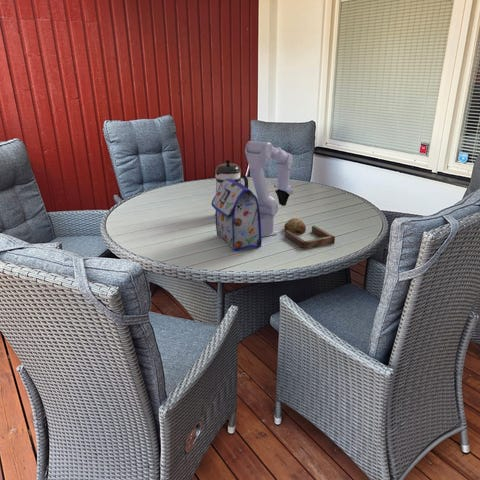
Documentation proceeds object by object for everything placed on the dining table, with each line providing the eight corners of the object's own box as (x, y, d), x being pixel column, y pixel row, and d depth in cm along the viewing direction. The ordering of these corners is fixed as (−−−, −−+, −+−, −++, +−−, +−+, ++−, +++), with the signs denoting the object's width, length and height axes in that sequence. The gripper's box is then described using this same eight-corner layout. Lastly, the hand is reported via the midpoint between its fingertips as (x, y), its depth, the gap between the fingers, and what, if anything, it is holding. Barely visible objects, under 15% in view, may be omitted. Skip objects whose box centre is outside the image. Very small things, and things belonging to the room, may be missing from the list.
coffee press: (242, 222, 200) (241, 162, 189) (211, 220, 203) (209, 161, 192) (248, 211, 216) (248, 156, 204) (219, 209, 219) (218, 155, 207)
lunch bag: (210, 235, 184) (208, 178, 174) (242, 230, 190) (242, 175, 180) (228, 254, 165) (227, 191, 155) (264, 247, 171) (265, 187, 161)
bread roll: (286, 241, 186) (290, 229, 181) (280, 226, 193) (283, 214, 187) (306, 239, 189) (310, 227, 183) (298, 224, 195) (302, 212, 190)
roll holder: (303, 249, 169) (303, 242, 168) (285, 236, 182) (285, 230, 181) (334, 243, 175) (335, 236, 174) (314, 231, 188) (314, 225, 187)
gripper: (298, 180, 186) (297, 207, 191) (283, 173, 198) (282, 199, 203) (285, 181, 183) (284, 209, 188) (270, 175, 195) (270, 201, 200)
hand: (282, 204), depth 196 cm, fingers closed
